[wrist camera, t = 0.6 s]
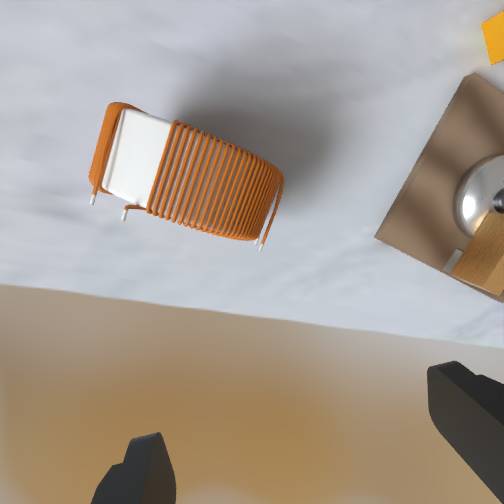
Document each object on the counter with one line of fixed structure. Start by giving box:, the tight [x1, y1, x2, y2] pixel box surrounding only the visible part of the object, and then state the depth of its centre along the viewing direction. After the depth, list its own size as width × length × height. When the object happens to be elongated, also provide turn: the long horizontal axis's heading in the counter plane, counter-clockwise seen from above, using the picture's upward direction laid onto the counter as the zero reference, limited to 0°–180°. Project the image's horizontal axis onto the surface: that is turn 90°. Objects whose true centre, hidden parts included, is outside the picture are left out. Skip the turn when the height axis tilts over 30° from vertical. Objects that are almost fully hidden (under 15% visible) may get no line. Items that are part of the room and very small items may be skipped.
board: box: [374, 73, 504, 303], centre depth 37 cm, size 20×20×2 cm
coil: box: [89, 102, 284, 252], centre depth 26 cm, size 7×15×15 cm, turn 69°
